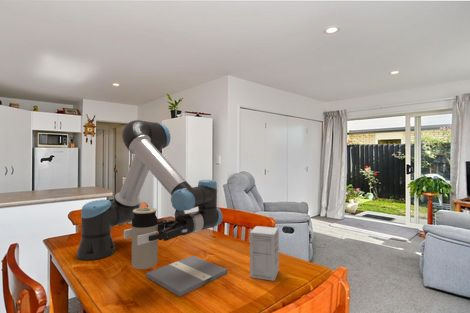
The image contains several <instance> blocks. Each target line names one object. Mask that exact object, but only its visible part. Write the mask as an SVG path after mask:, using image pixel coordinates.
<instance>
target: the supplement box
mask: <svg viewBox="0 0 470 313" xmlns="http://www.w3.org/2000/svg"><path fill="white" fill-rule="evenodd" d="M279 244H280V243H279V227H269V226H260V225H256V226H255V227H253V229H252V230H251V231H250V233H249V278H253V279H259V280H266V281H271V282H274V281H276V278H277V276H278V274H279V272H280V260H279V258H280V256H279V254H280V252H279V249H280V248H279V246H280V245H279Z"/></svg>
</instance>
